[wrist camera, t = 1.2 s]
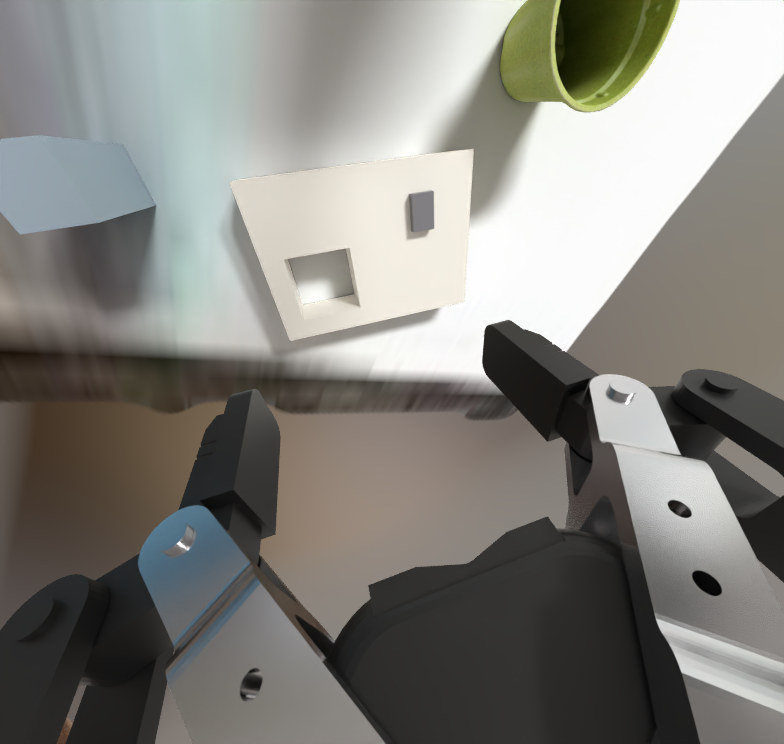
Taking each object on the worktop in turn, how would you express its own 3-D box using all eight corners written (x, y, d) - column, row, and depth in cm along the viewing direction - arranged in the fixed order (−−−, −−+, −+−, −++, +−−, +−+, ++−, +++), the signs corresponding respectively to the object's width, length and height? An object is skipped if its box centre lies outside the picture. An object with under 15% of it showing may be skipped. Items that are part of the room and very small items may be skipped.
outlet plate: (237, 179, 24) (226, 182, 20) (453, 150, 27) (478, 148, 23) (290, 324, 33) (289, 344, 29) (449, 290, 36) (467, 304, 32)
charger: (63, 151, 21) (-57, 144, 14) (123, 144, 21) (39, 135, 14) (103, 213, 23) (20, 234, 16) (156, 205, 24) (97, 223, 17)
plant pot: (460, 50, 23) (527, 3, 16) (554, -82, 20) (681, -203, 14) (512, 150, 28) (579, 146, 22) (592, 56, 26) (697, 17, 19)
